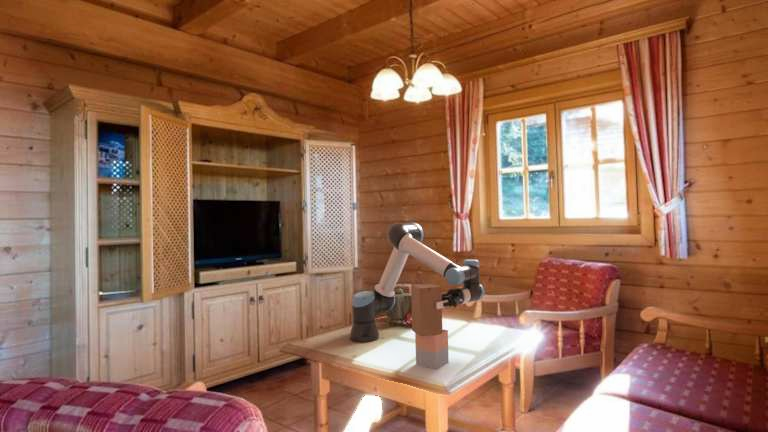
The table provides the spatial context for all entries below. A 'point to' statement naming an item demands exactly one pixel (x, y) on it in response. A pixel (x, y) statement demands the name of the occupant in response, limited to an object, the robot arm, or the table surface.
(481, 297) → the robot arm
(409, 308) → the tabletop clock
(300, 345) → the table surface
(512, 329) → the table surface
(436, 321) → the wooden block
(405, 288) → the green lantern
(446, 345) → the tower top
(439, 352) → the tower base
